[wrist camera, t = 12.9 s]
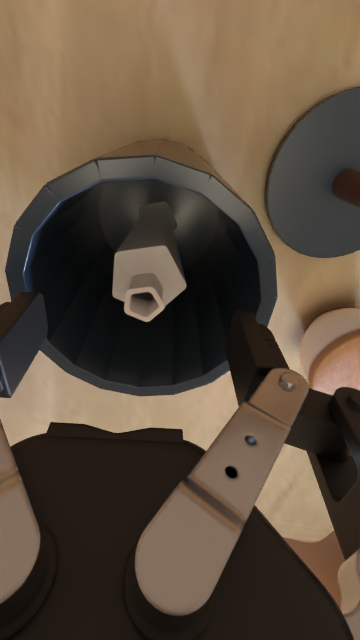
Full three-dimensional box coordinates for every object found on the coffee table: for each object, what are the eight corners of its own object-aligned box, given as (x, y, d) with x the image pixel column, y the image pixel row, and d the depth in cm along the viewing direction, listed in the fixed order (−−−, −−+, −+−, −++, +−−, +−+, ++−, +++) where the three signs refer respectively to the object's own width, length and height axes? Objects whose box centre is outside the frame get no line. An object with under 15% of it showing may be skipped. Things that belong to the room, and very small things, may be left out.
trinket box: (397, 314, 35) (462, 369, 27) (333, 374, 40) (372, 434, 32) (329, 276, 32) (380, 324, 24) (269, 346, 37) (295, 404, 29)
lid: (248, 245, 30) (263, 270, 25) (292, 74, 23) (327, 58, 18) (373, 260, 31) (413, 287, 26) (454, 101, 24) (532, 94, 19)
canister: (94, 271, 31) (29, 388, 17) (89, 128, 24) (-26, 129, 10) (211, 283, 32) (241, 404, 18) (238, 149, 25) (319, 177, 11)
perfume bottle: (190, 210, 27) (204, 286, 15) (168, 251, 29) (165, 347, 17) (144, 185, 26) (119, 244, 14) (125, 229, 28) (88, 315, 16)
